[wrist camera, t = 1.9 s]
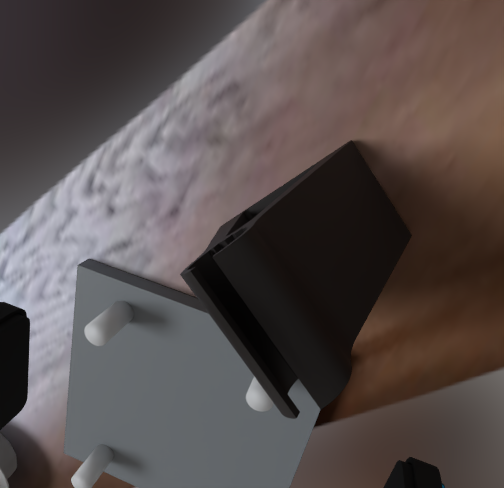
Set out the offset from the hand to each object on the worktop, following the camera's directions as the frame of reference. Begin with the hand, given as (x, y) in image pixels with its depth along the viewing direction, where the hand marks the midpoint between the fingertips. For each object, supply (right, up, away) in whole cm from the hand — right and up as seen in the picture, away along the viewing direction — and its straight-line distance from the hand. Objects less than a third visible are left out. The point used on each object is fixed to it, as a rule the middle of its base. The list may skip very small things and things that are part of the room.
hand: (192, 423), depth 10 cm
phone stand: (+5, +5, +14) cm, 16 cm away
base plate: (-4, -8, +21) cm, 23 cm away
